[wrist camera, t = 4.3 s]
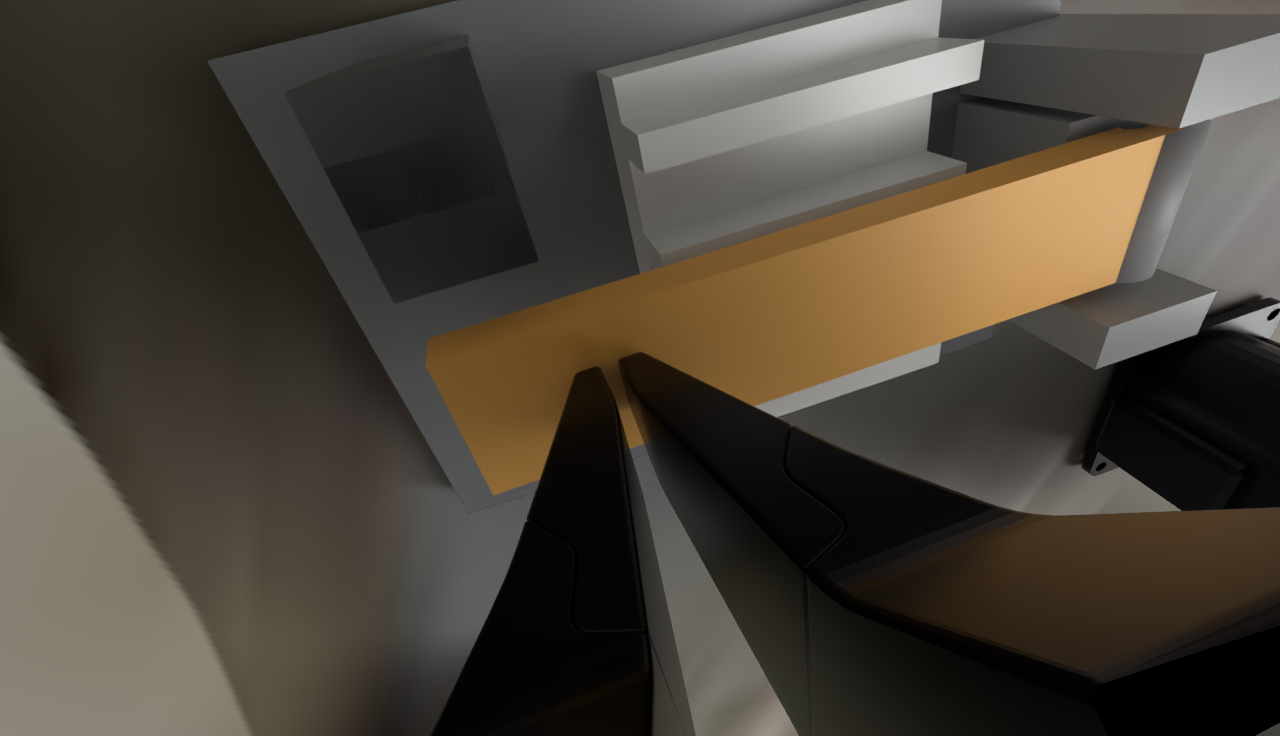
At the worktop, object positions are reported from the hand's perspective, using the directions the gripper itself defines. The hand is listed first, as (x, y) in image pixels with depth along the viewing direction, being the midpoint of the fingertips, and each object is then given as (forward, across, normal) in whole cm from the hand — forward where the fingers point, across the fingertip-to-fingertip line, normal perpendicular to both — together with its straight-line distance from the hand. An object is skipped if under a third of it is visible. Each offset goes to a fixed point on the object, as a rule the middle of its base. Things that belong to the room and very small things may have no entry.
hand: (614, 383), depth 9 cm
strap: (+1, -4, 0) cm, 4 cm away
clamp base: (+5, -4, 0) cm, 6 cm away
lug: (+5, +1, -4) cm, 7 cm away
